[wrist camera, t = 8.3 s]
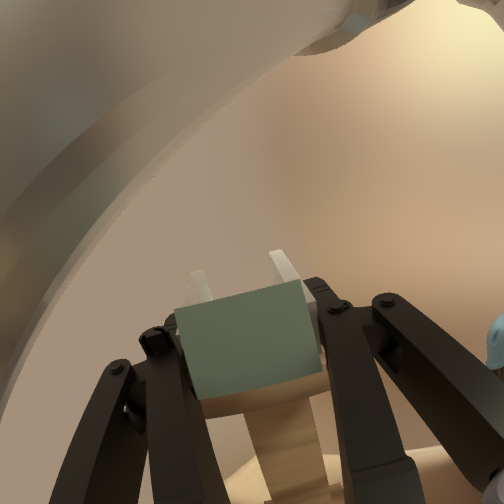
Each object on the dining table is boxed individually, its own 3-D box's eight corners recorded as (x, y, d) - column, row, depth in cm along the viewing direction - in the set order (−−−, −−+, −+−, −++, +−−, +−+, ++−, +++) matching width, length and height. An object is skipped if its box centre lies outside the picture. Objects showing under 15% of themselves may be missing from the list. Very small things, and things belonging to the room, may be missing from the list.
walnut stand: (376, 557, 11) (353, 354, 17) (270, 584, 11) (180, 396, 16) (340, 488, 29) (306, 332, 34) (266, 506, 29) (216, 354, 34)
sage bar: (322, 371, 8) (300, 278, 8) (197, 399, 8) (173, 309, 8) (277, 327, 26) (270, 298, 27) (237, 337, 26) (230, 308, 27)
